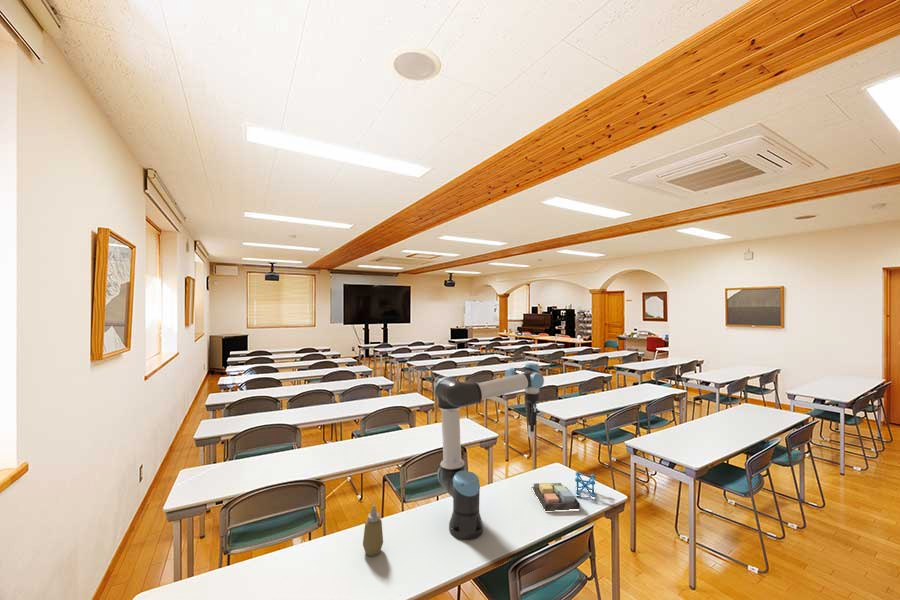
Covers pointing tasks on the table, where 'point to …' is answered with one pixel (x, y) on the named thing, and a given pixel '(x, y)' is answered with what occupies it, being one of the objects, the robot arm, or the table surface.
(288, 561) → the table surface
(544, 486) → the mustard key
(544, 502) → the keypad
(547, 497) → the terracotta key
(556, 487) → the sage key
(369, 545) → the squeeze bottle
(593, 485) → the molecular structure
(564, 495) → the slate key
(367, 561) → the table surface
